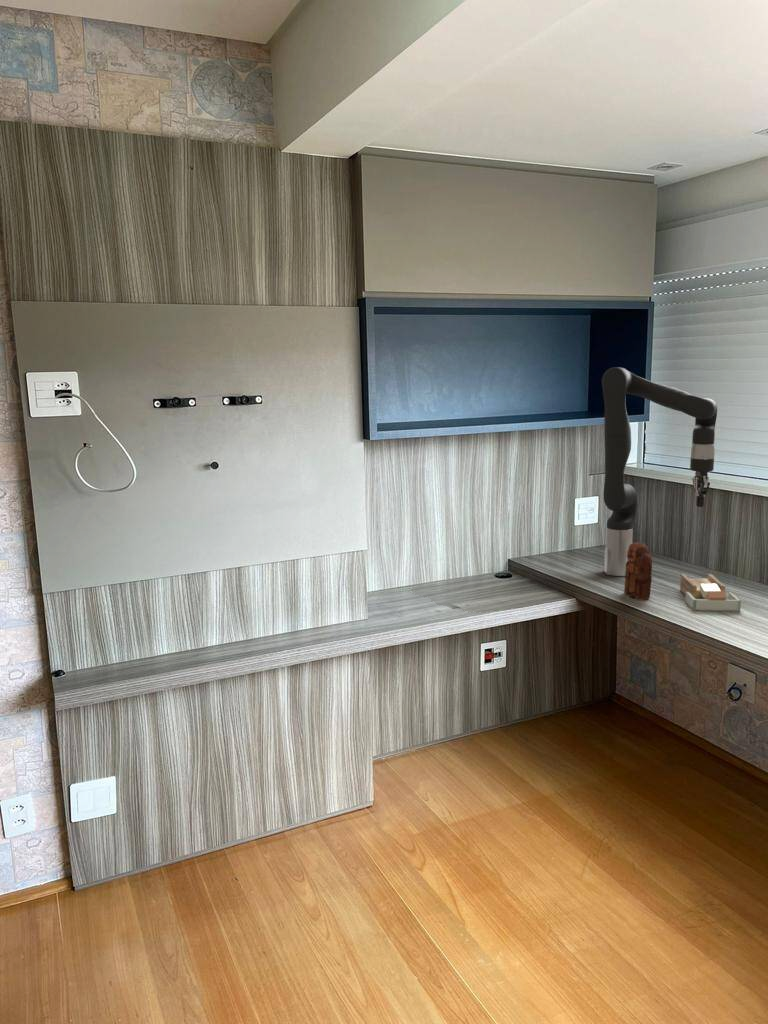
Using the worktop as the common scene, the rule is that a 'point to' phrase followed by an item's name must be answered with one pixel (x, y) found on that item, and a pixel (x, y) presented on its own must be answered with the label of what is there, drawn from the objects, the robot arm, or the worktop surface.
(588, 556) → the worktop surface
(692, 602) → the tray
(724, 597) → the tile
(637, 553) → the wooden figurine
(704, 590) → the tile
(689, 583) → the wooden u-channel
